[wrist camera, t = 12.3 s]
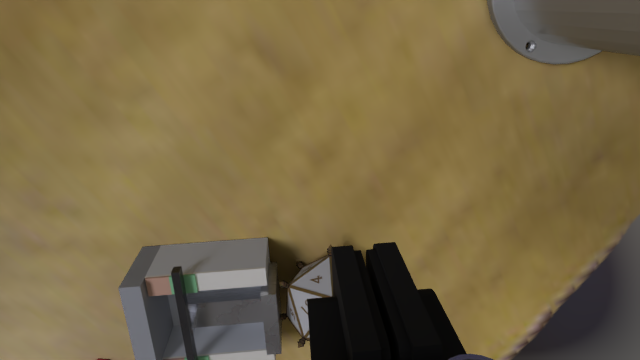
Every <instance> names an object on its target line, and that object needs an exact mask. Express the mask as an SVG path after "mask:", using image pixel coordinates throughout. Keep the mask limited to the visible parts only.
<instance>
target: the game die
mask: <svg viewBox="0 0 640 360" xmlns="http://www.w3.org/2000/svg"><path fill="white" fill-rule="evenodd" d="M331 248H332V246H331V245H330V246H329V248H328V249H327V250H328V251H327V252H328V255H327V256H325V257H323V258H321V259H319V260H317V261H315V262H312V263H310V264H308V265H306V266H303V264H302V262H298V261H297V265H296V266H298V268H300V271H299V272H298V273H297V274H296V276H295V277H294V278H293V279H292V280H291V282H290V283H289V284H288V283H287V282H285V281H284V280H283V281H282V282H279V284H280V285H281V287H284V288H287V308H286V314H284V313H283V314H280V319H281V320H283V319H286V317H288V319H289V320H290V321H291V323H292V324H293V326H294V327H295V328H296V330H297V331H298V332H299V334H300V335H301V336H302V339H299V342H298V348H299V347H302V346H304V344H305V341H306V340H307V341H310V336H309V321H308V307H307V299H311V298H323V297H333V278H332V255H331Z"/></svg>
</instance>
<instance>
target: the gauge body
mask: <svg viewBox="0 0 640 360" xmlns="http://www.w3.org/2000/svg"><path fill="white" fill-rule="evenodd" d="M269 262H270V256H269V246H268V237H267V238H253V239H240V240H227V241H213V242H200V243H187V244H174V245H160V246H147V247H142V249H141V251H140V252H139V254H138V256H137V257H136V259H135V261H134V262H133V264H132V266H131V268H130V269H129V271H128V273H127V274H126V276H125V278H124V280H123V281H122V283H121V285H120V286H119V292H120V296H121V301H122V305H123V309H124V313H125V318H126V322H127V326H128V330H129V335H130V339H131V343H132V347H133V351H134V356H135V360H187V357H186V351H185V346H184V341H183V335H182V330H181V325H180V319H179V314H178V309H177V303H176V298H175V293H174V287H173V282H172V277H171V272H172V269H173V267H177V266H181V267H182V272H183V278H184V283H185V289H186V295H188V293H197V292H198V291H205V290H217V289H230V288H242V287H255V286H267V280H268V264H269ZM194 340H195V346H196V351H197V357H198V360H275V356H276V354H271V355H267V351H266V342H265V333H264V324H263V322H258V323H246V324H234V325H222V326H210V327H198V328H195V332H194Z"/></svg>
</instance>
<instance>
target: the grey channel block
mask: <svg viewBox="0 0 640 360" xmlns="http://www.w3.org/2000/svg"><path fill="white" fill-rule="evenodd" d="M171 277H172V282H173V287H174V293H175V298H176V303H177V309H178V314H179V319H180V325H181V330H182V335H183V341H184V346H185V351H186V357H187V360H198V357H197V351H196V346H195V340H194V332H195V328H198V327H210V326H222V325H234V324H246V323H258V322H263V324H264V333H265V342H266V351H267V355H271V354H281V344H282V320H281V319H280V314H282V313H281V302H280V291H279V281H278V270H277V262H269V264H268V280H267V286H255V287H242V288H230V289H217V290H205V291H198V292H197V293H188V295H186V289H185V283H184V278H183V272H182V267H181V266H177V267H173V269H172V272H171Z"/></svg>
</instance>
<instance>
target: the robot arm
mask: <svg viewBox="0 0 640 360" xmlns="http://www.w3.org/2000/svg"><path fill="white" fill-rule="evenodd" d="M487 5H488V9H489V13H490V17H491V20H492V22H493V24H494V26H495V28H496V30H497V32H498V34H499V35H500V36H501V38H502V39H503V40H504V42H505V43H506V44H507V45H508V46H509V47H511V48H512V49H513V50H514V51H515V52H517V53H518V54H520V55H522V56H524V57H526V58H528V59H531V60H535V61H538V62H542V63H549V64H569V63H573V62H577V61H581V60H585V59H587V58H589V57H591V56H594V55H596V54H598V53H600V52H601V51H608V52H615V53H622V54H629V55H635V56H640V0H487ZM526 43H528V47H527V48H526V47H525V46H526ZM331 255H332V278H333V297H323V298H311V299H307V307H308V321H309V336H310V350H311V360H493V359H491V358H488V357H485V356H482V355H475V354H466V352H465V350H464V348H463V346H462V344H461V342H460V340H459V338H458V336H457V334H456V332H455V330H454V329H453V327H452V325H451V323H450V321H449V319H448V317H447V315H446V313H445V311H444V309H443V307H442V305H441V304H440V302H439V300H438V298H437V296H436V294H435V292H434V291H433V290H432V289H421V290H417V288H416V286H415V284H414V282H413V280H412V278H411V275H410V273H409V271H408V269H407V267H406V265H405V263H404V260H403V258H402V256H401V254H400V252H399V250H398V247H397V245H396V243H395V242H392V243H378V244H374V245H373V249H371V250H366V266H365V263H364V259H363V256H362V253H361V250H358V251H354V250H353V247H352V246H339V247H332V248H331Z"/></svg>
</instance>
